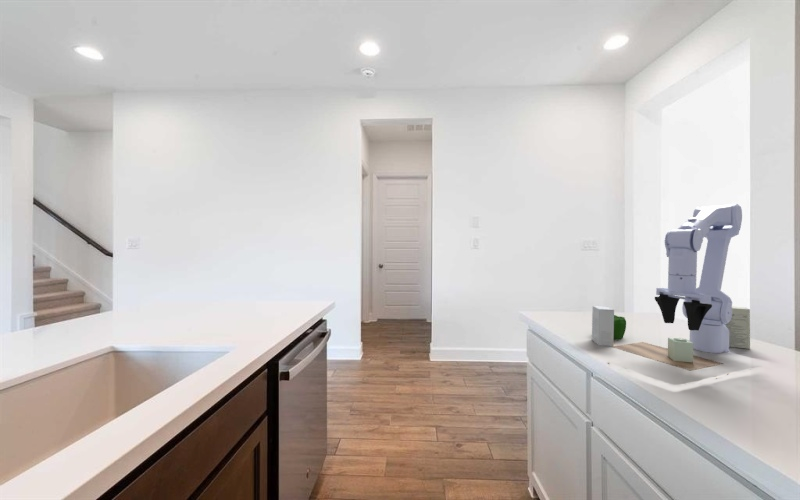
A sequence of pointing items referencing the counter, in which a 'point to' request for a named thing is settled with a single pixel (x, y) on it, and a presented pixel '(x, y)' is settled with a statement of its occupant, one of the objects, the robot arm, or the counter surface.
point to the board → (665, 356)
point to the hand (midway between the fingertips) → (680, 326)
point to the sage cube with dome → (680, 349)
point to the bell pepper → (619, 327)
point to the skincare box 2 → (739, 328)
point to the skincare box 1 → (603, 325)
